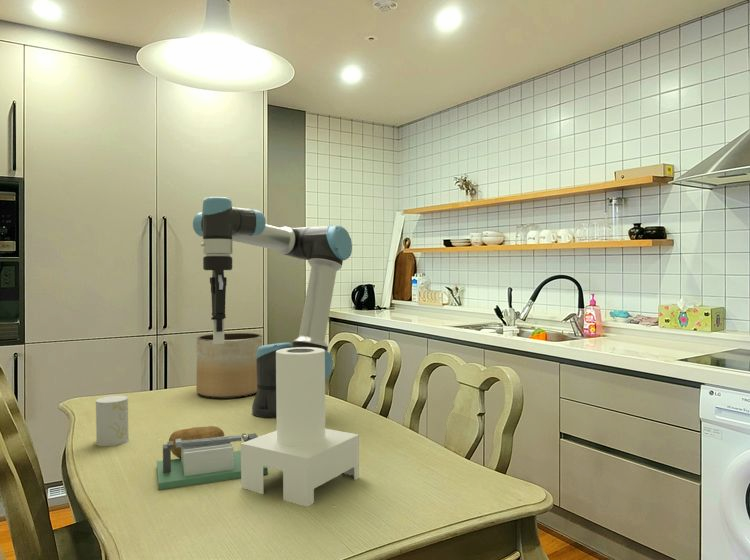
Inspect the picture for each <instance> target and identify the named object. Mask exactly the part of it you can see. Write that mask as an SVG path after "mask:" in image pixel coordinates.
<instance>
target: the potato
mask: <svg viewBox="0 0 750 560" xmlns="http://www.w3.org/2000/svg"><path fill="white" fill-rule="evenodd" d="M223 436H225V433H224V430H223V429H222V428H220V427H219V426H214V425H211V426H210V425H208V426H196V427H191V428H184V429H183V428H182V429H178V430H175V431H174V432H172V433H171V434H170V436H169V438H168V442H169V441H173V447H172V448H171V453H172V455H174V456H175V457H177V459H180V458H181V447H178V448H176V445H175V439H181V441H183V440H193V439H204V438H214V437H223Z"/></svg>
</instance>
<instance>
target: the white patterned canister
mask: <svg viewBox="0 0 750 560" xmlns="http://www.w3.org/2000/svg"><path fill="white" fill-rule="evenodd" d="M95 423H96V424H95V427H96V430H95V431H96V433H95V434H96V435H95V436H96V445H98V446H100V447H112V446H113V447H114V446H119V445H122V444H125V443H127V442H128V441H129V438H130V437H129V397H128V396H127V395H126V396H125V395H110V396H104V397H100V398H97V399H96V400H95Z"/></svg>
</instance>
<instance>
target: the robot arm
mask: <svg viewBox="0 0 750 560" xmlns="http://www.w3.org/2000/svg"><path fill="white" fill-rule="evenodd" d="M192 229H193V230H194V233H195V234H196V235H197V236H199V237H202V241H203V242H201V243H200V247H203V249H202V251H203V254H204V255H205V256H203V257H202V261H203V262H202V263H203V264H202V267H203V270H204V271H212V272H211V273H212V274H211V275H212V277H209V284H210V293H211V311H212V312H211V316H212V317H210V318H211V321H212V334H213V344H224V333H225V319H226V318H227V317H226V291H227V289H226V288H227V282H228V281H227V276H225V272H224V271H232V270H233V256H231V255H232V254H233V242H237V243H242V244H246V245H251V246H255V247H260V248H265V249H270V250H273V251H276V253H278V254H280V255H283V256H288V257H292V258H296V259H299V260H304V261H307V262H308V264H309V266H310V268H311V269H310V273H309V279H308V284H307V289H306V296H305V300H304V305H303V311H302V317H301V321H300V328H299V333H298V336H297V338H295V339H294V340H293V341H292V343H291V342H278V343H270V344H265V345H264V344H262V346H260V347H259V348H258V350H257V358H256V360H257V392H256V394H255V396H254V399H253V402H252V406H251V414H252V415H253V416H256V417H260V418H277V416H276V351H277V350H280V349H285V348H295V347H314V348H321V349H324V350H325V382H326V381H327V380H328V379H329V378H330V375H331V374H332V371H333V367H334V366H333V365H334V364H333V363H334V361H333V357H332V355H331V353H330V352H329V351H328V350H329V346H328V344H327V343H326V334H327V330H328V329H327V328H328V323H329V316H330V311H331V305H332V299H333V294H334V288H335V282H336V275H337V272H338V271H340V269H342V268H343V267H342V266H343V263H344V261H346V260H349V258H350V257H351V255H352V251H353V242H352V237H351V236H350V233H349V232H348V230H347V229H346V228H345V227H343V226H341V225H334V224H329V225H323V226H306V227H305V226H303V227H289V226H282V227H278V226H275V225H274V226H273V225H270V224H267V223H266V216H265V215H264V213H263V212H262V211H260V210H258V209H254V208H243V207H235V206H233V203H232V199H231V198H229V197H224V196H207V197H205V198H204V199H203V201H202V211H201V212H198V213H196V215H194V217H193V220H192Z"/></svg>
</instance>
